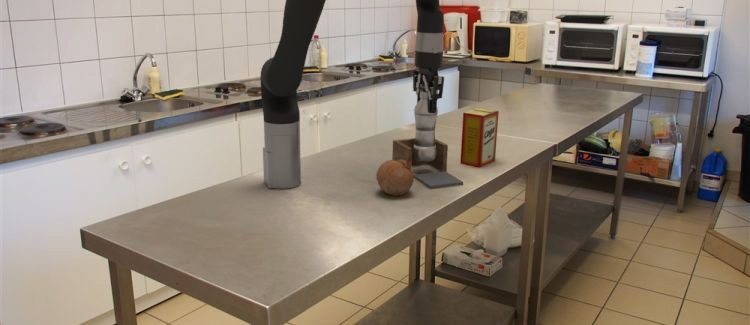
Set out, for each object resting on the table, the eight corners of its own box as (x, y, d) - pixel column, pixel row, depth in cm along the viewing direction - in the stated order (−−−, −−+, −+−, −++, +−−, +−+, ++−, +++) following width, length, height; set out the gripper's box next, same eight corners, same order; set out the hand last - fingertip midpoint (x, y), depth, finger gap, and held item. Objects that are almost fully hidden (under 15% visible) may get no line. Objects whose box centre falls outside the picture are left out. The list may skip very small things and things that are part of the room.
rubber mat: (430, 188, 163) (430, 185, 162) (413, 177, 171) (413, 175, 171) (463, 184, 166) (463, 181, 166) (445, 174, 175) (445, 171, 175)
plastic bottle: (434, 165, 172) (438, 93, 166) (410, 163, 173) (413, 92, 167) (437, 158, 178) (440, 89, 172) (413, 157, 179) (416, 88, 173)
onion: (408, 203, 161) (426, 170, 158) (391, 204, 153) (410, 169, 150) (380, 183, 165) (398, 151, 163) (363, 183, 157) (381, 149, 154)
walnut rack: (407, 176, 172) (408, 148, 170) (392, 166, 181) (392, 140, 179) (446, 172, 177) (447, 145, 175) (429, 162, 186) (431, 136, 184)
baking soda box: (479, 168, 181) (483, 114, 177) (460, 163, 185) (463, 111, 181) (494, 161, 189) (498, 109, 184) (476, 157, 192) (479, 106, 188)
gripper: (405, 47, 171) (403, 106, 176) (429, 52, 159) (426, 116, 163) (429, 46, 174) (426, 105, 179) (454, 52, 161) (451, 115, 166)
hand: (426, 110), depth 171 cm, fingers closed on plastic bottle, 6 cm apart
